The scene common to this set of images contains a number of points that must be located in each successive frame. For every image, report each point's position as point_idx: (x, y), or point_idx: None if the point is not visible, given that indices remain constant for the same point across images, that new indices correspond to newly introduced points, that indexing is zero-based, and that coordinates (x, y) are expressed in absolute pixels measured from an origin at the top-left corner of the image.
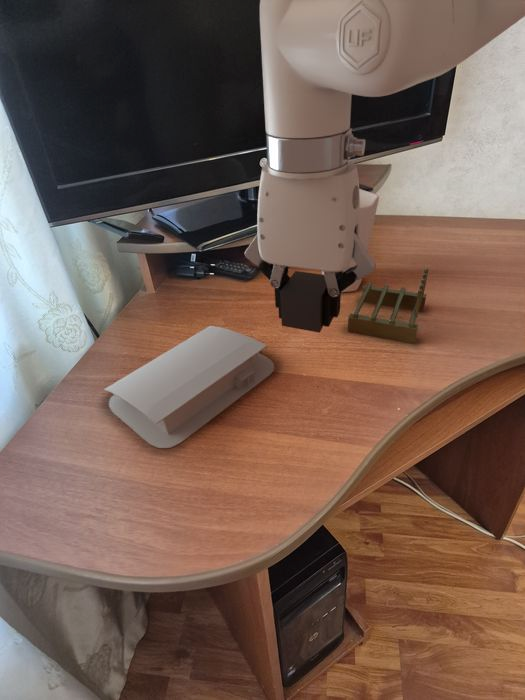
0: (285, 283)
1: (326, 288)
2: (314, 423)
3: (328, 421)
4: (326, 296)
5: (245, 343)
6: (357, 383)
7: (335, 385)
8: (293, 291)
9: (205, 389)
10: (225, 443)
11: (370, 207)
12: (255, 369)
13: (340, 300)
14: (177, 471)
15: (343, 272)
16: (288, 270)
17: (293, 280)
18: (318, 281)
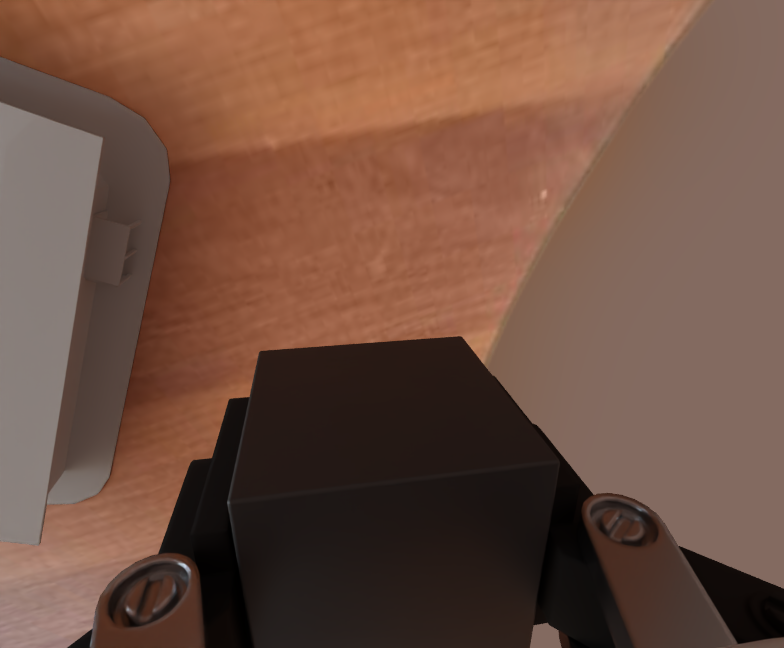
0: (242, 641)
1: (536, 592)
2: (367, 313)
3: (395, 295)
4: (537, 616)
5: (8, 154)
6: (433, 129)
7: (376, 160)
8: None
9: (60, 410)
10: (205, 436)
11: None
12: (108, 175)
13: (562, 456)
14: (159, 521)
15: (695, 576)
16: (205, 631)
17: (290, 621)
18: (472, 563)
